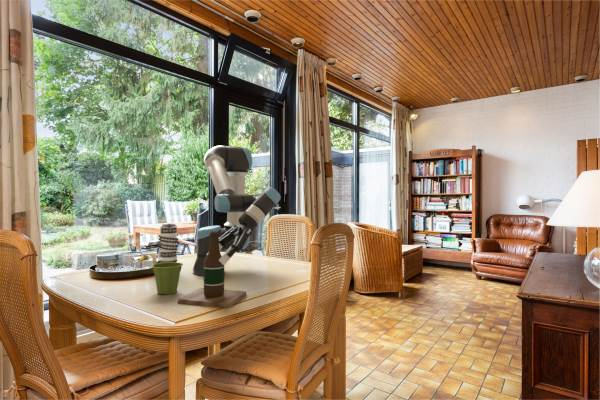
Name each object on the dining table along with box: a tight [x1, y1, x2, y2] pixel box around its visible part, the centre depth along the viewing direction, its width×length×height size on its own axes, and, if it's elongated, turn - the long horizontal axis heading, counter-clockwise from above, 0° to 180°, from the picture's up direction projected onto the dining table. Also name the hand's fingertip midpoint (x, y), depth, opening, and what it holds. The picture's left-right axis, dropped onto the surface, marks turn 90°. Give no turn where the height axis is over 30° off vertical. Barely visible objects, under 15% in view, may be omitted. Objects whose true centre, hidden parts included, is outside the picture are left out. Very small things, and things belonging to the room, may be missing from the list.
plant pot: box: [151, 261, 184, 296], centre depth 137 cm, size 12×12×11 cm
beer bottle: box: [203, 232, 225, 298], centre depth 129 cm, size 8×8×24 cm
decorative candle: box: [158, 222, 179, 263], centre depth 169 cm, size 9×9×25 cm
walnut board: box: [177, 287, 247, 309], centre depth 129 cm, size 20×16×2 cm
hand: (214, 259), depth 129 cm, fingers open, 13 cm apart
